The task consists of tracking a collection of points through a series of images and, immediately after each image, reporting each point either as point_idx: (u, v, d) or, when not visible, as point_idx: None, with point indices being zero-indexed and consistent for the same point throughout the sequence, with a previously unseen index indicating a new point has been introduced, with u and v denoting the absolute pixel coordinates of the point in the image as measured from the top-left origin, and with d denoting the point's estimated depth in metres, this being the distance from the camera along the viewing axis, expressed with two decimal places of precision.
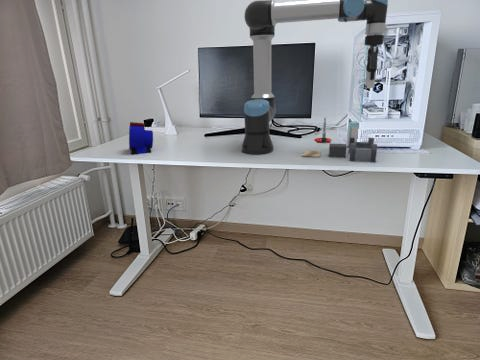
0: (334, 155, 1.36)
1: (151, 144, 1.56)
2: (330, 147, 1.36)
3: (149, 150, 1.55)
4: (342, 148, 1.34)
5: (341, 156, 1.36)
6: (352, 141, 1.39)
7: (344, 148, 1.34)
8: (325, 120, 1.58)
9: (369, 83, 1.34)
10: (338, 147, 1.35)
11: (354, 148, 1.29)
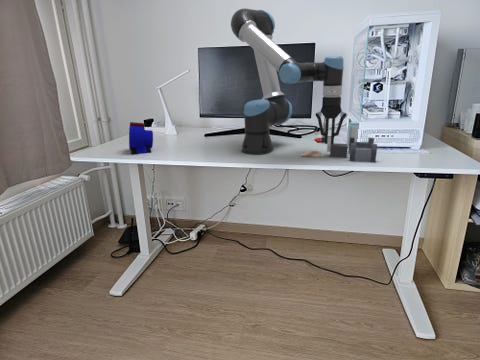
0: (335, 155, 1.36)
1: (151, 144, 1.56)
2: (331, 147, 1.35)
3: (149, 150, 1.55)
4: (343, 147, 1.34)
5: (342, 156, 1.35)
6: (352, 141, 1.39)
7: (345, 148, 1.34)
8: (325, 120, 1.58)
9: None
10: (339, 147, 1.35)
11: (354, 148, 1.29)
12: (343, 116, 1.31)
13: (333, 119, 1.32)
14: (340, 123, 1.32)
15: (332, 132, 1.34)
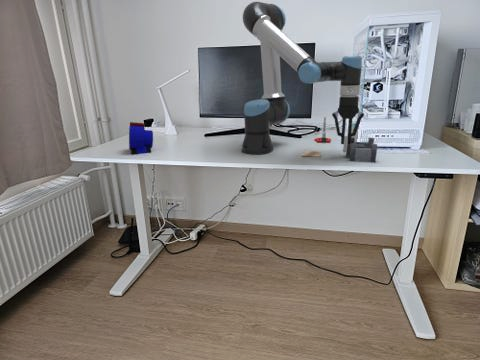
0: None
1: (151, 144, 1.56)
2: (348, 147, 1.34)
3: (149, 150, 1.55)
4: None
5: None
6: (352, 141, 1.39)
7: None
8: (325, 120, 1.58)
9: (343, 147, 1.37)
10: (356, 147, 1.33)
11: (354, 148, 1.29)
12: (360, 116, 1.29)
13: (350, 119, 1.30)
14: (357, 123, 1.30)
15: (349, 132, 1.32)
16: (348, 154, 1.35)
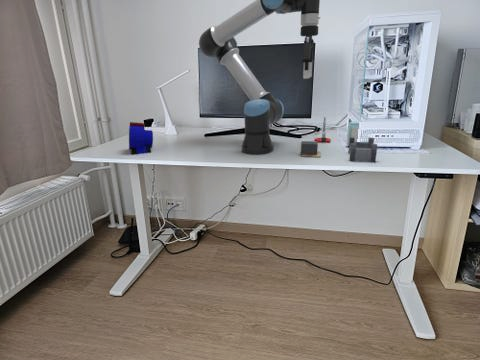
0: (306, 152, 1.39)
1: (151, 144, 1.56)
2: (302, 144, 1.38)
3: (149, 150, 1.55)
4: (313, 145, 1.37)
5: (312, 153, 1.38)
6: (352, 141, 1.39)
7: (315, 145, 1.37)
8: (325, 119, 1.58)
9: (304, 73, 1.35)
10: (309, 144, 1.38)
11: (354, 148, 1.29)
12: None
13: None
14: (312, 49, 1.44)
15: (312, 58, 1.45)
16: (302, 151, 1.39)
